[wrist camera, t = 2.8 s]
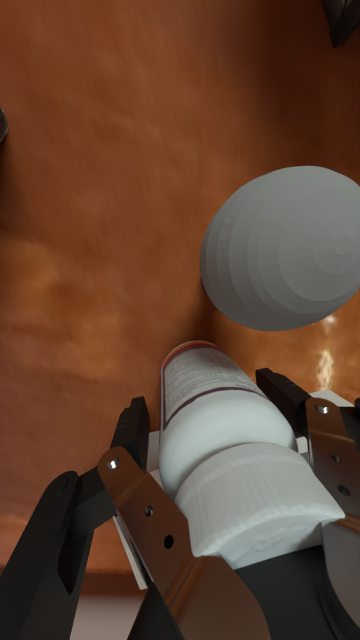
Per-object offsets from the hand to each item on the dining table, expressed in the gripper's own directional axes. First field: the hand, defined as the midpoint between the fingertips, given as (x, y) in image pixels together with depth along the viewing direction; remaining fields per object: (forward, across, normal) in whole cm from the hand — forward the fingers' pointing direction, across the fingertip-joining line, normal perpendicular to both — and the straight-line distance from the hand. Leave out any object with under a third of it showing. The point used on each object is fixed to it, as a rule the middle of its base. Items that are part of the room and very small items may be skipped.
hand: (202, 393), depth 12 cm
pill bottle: (+4, 0, 0) cm, 4 cm away
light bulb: (+3, -3, -8) cm, 9 cm away
